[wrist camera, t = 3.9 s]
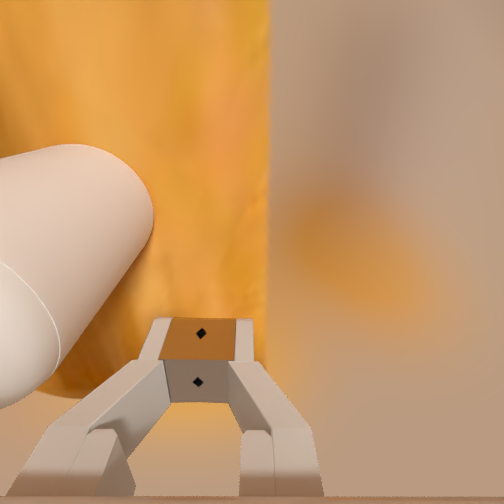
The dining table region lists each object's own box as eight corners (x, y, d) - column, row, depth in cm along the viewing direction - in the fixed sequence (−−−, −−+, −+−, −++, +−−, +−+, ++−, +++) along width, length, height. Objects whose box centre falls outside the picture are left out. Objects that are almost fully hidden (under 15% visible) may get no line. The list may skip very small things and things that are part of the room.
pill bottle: (122, 123, 16) (-438, 254, 3) (174, 243, 20) (34, 529, 7) (1, 158, 17) (-851, 380, 4) (74, 266, 21) (-222, 561, 8)
